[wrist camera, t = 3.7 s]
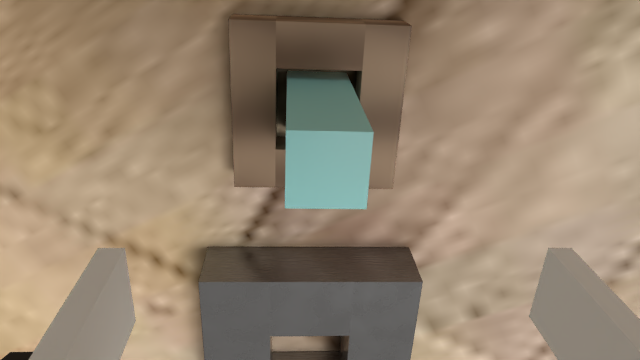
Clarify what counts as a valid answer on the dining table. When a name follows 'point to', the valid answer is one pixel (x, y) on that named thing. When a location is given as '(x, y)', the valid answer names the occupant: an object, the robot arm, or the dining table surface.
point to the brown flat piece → (321, 54)
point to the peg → (326, 143)
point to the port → (309, 301)
